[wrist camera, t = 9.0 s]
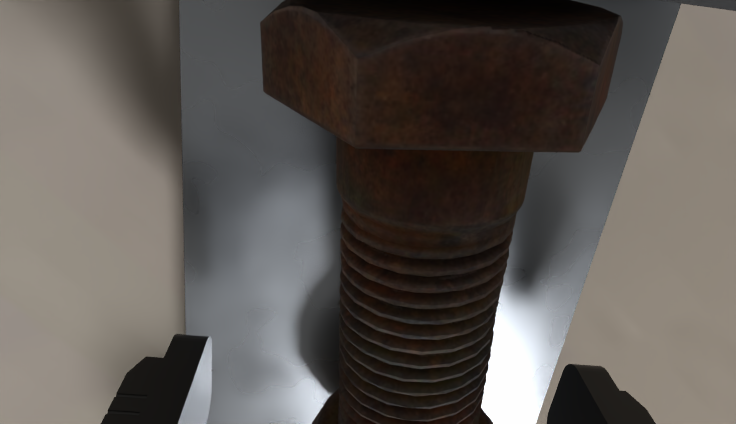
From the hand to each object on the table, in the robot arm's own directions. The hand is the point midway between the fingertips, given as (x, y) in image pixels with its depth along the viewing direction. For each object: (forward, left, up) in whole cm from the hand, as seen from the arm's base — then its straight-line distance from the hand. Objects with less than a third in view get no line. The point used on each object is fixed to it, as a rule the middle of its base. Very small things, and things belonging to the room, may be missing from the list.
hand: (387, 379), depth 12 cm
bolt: (0, -1, -2) cm, 2 cm away
